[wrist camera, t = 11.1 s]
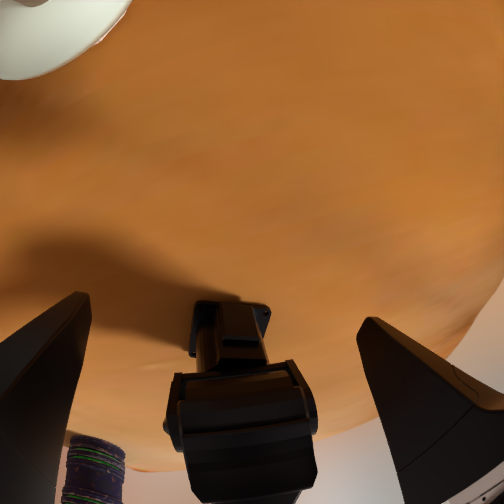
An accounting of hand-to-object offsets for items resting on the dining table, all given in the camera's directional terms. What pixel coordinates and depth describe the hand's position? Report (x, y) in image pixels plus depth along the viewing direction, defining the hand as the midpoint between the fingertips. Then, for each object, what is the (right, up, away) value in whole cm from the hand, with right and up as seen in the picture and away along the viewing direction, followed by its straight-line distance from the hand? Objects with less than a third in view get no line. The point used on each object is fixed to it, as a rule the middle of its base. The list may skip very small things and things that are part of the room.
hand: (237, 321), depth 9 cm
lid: (-11, +17, -1) cm, 20 cm away
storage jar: (-25, -30, +26) cm, 47 cm away
